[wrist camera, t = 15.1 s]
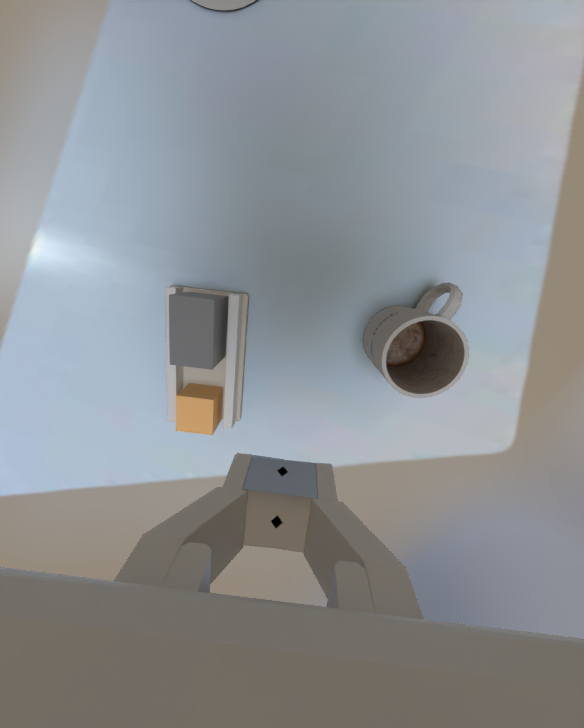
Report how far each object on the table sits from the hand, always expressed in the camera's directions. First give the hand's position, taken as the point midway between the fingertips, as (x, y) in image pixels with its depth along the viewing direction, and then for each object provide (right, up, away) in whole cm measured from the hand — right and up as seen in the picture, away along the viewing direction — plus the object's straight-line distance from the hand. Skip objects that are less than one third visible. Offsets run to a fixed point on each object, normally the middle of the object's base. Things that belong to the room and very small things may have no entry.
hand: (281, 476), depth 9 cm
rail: (-11, +5, +32) cm, 34 cm away
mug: (+15, +8, +30) cm, 34 cm away
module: (-11, +9, +29) cm, 32 cm away
